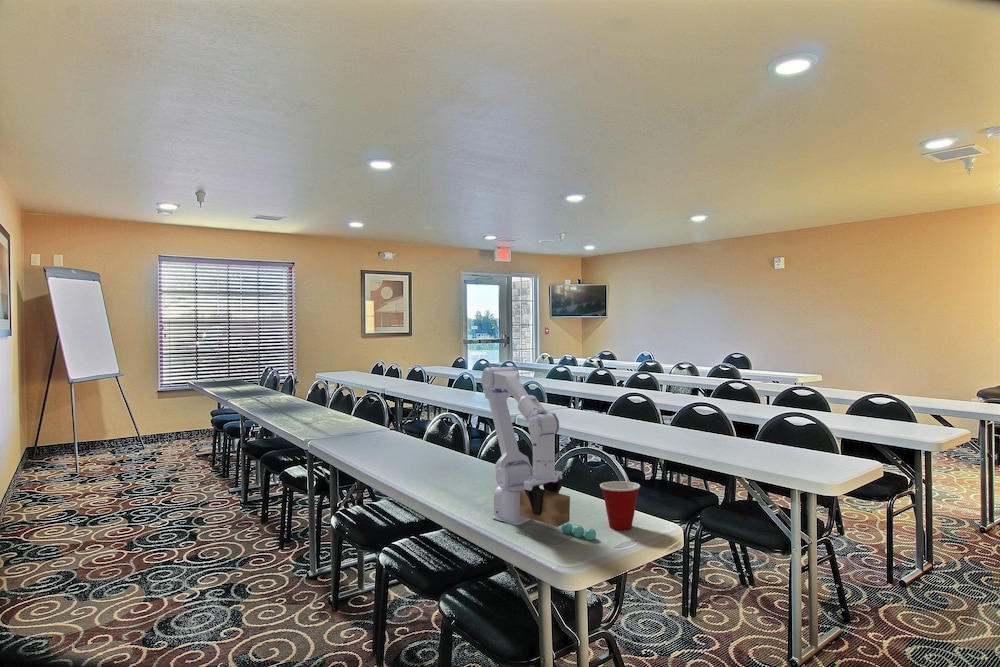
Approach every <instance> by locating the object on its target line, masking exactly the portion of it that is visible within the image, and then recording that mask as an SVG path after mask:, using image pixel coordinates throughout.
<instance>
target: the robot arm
mask: <svg viewBox="0 0 1000 667" xmlns="http://www.w3.org/2000/svg"><path fill="white" fill-rule="evenodd" d="M480 381H481V386H482V390H483V394H484V398H485V399H487V400H488V403H489V408H490V411H491V416H492V420H493V425H494V429H495V433H496V437H497V442H498V446H499V449H500V454H501V456H500V458H498V460H497V461H496V462H495V464H494V466H495V480H496V483H497V485H498V486H497V487H496V489H495V491H494V493H493V494H494V495H493V516H492V517H491V518H492V519H493V520H496V521H500V522H504V523H507V524H509V525H510V524H511V525H514V526H520V525H522V524H524V523H526V522H529V521H532V519H529V518H526V517H523V516H520V491H522V490H524V491H525V492H526V494H527V496H528V498H529V501H530V504H531V507H532V512H533V514H534V515H538V516H540V515H541V512H542V502H543V497H544V494H545V491H546V490H548V491H551V492H555V493H559V494H560V491H561V489H562V487H563V484H564V483H563V481H562V479H563V471H560V470H555V468H556V466H555V465H556V464H555V463H556V462H555V460H556V458H555V457H556V456H555V446H556V445H555V438H556V437H555V435H557V434H558V432H559V429H560V420H559V419H558V416H557V415H556V414H557V413H555V412H550V411H549V410H546V408H545V407H544V406H543V405H542V404H541V403H540V401H539V400H538V399H537V397H536V396H535V395H532V394H528V392H527V391H526V389H525V388H524V385H523V384H522V383H521V380H520V373H519V371H518V370H517V367H515V366H512V365H511V366H503V367H502V366H501V367H489V366H487V367H485V368H484V369H483V371H482V374H481V379H480ZM510 397H513V398H514V400H516V402H517V409H518V411H519V412H520V413H521V415H522V416H523V418H524V419H525V420H526V422H527V423H528V424H527V428H528V432H529V434H530V436H529V437H530V442H531V443H532V465H531V463H530V460H529V457H528V456H527V455H525V454H523V452H521V451H520V449H519V445H518V442H517V438H516V433H515V430H514V425H513V422H512V421H513V420H512V418H511V414H510V409H509V406H508V402H507V400H508V399H509V398H510ZM560 480H561V481H560ZM541 486H543V488H541ZM543 489H544V490H543Z"/></svg>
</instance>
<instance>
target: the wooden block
mask: <svg viewBox="0 0 1000 667" xmlns="http://www.w3.org/2000/svg"><path fill="white" fill-rule="evenodd" d="M542 489H543V490H544V488H542ZM570 508H571V495H570V496H569V495H566V494H562V493H560V492H559V493H555V492H551V491H548V490H546V491H545V494H544V497H543V502H542V512H541V515H540V516H538V515H534V514H533V512H532V507H531V504H530V501H529V498H528V496H527V494H526V492H525V491H524V490H522V491H520V516H523V517H526V518H529V519H531V520H533V521H537V522H540V523H543V524H545V525H549V526H553V527H555V528H559V527H562V525H563V524H565V523H567V522H569V523H570V520H571V519H570V515H571V514H570V510H571V509H570Z"/></svg>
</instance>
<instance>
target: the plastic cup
mask: <svg viewBox="0 0 1000 667" xmlns="http://www.w3.org/2000/svg"><path fill="white" fill-rule="evenodd" d="M599 486H600V489H601V491H602V494H603V498H604V504H605V510H606V516H607V520H608V526H609V528H610V529H612V530H614V531H618V532H627V531H630V530H631V529H632V527H633V522H634V517H635V512H636V505H637V498H638V494H639V490H640V488H641V485H640V484H639V483H637V482H632V481H622V480H621V481H619V480H618V481H617V480H616V481H615V480H613V481H606V482H602V483H599Z"/></svg>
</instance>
